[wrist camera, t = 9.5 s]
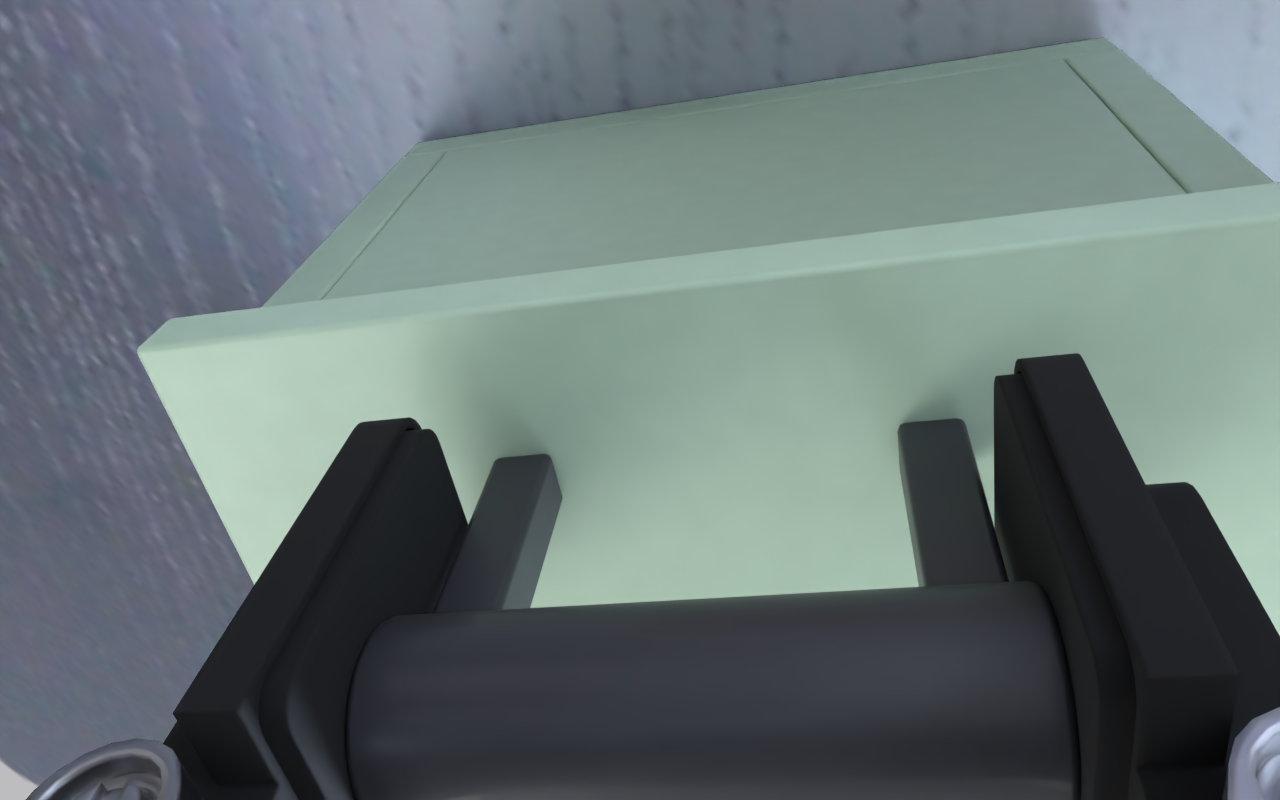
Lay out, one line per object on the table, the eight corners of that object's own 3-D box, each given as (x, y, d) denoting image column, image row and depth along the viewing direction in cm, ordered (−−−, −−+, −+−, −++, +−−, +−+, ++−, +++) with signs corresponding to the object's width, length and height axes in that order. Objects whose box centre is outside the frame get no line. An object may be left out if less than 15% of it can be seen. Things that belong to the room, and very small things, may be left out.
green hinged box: (415, 141, 20) (197, 371, 12) (1106, 35, 17) (1349, 244, 10) (576, 669, 28) (500, 1008, 20) (1075, 648, 25) (1199, 1027, 18)
